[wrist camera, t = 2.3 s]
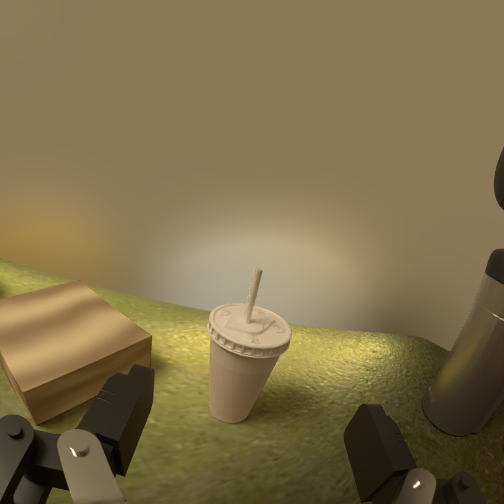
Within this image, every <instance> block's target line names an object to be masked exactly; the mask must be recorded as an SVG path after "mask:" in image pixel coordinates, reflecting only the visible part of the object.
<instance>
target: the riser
mask: <svg viewBox="0 0 504 504" xmlns="http://www.w3.org/2000/svg"><path fill="white" fill-rule="evenodd" d="M151 346H152V335H151V334H149V333H148V332H146V331H145V330H144V329H142V328H141V327H139V326H138V325H137V324H135V323H134V322H132V321H131V320H130V319H128V318H127V317H126V316H124V315H123V314H121V313H120V312H119V311H117V310H116V309H115V308H114V307H112V306H111V305H110V304H108V303H107V302H106V301H104V300H103V299H102V298H101V297H99V296H98V295H97V294H96V293H94V292H93V291H92V290H91V289H89V288H88V287H87V286H86V285H85V284H83V283H82V282H81V281H80V280H78V281H73V282H69V283H65V284H61V285H57V286H53V287H49V288H45V289H40V290H36V291H32V292H28V293H24V294H20V295H16V296H12V297H8V298H4V299H0V364H1V366H2V368H3V370H4V372H5V374H6V376H7V378H8V380H9V381H10V383H11V385H12V387H13V389H14V391H15V392H16V394H17V396H18V398H19V399H20V401H21V403H22V404H23V406H24V408H25V409H26V411H27V412H28V414H29V415H30V417H31V419H32V420H33V422H34V423H35V425H38V424H40V423H42V422H44V421H47V420H49V419H51V418H53V417H55V416H57V415H59V414H61V413H63V412H65V411H67V410H69V409H71V408H73V407H75V406H77V405H79V404H81V403H83V402H85V401H87V400H89V399H91V398H93V397H95V396H97V395H98V393H99V392H100V390H102V387H103V385H104V384H105V382H106V381H107V379H108V378H110V377H111V376H113V375H115V374H116V373H118V372H119V373H122V374H125V375H128V373H129V371H130V370H131V368H132V366H133V365H134V364H138V365H141V366H144V367H148V368H149V367H151Z"/></svg>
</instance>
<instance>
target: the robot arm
mask: <svg viewBox="0 0 504 504" xmlns="http://www.w3.org/2000/svg"><path fill="white" fill-rule="evenodd" d="M494 192H495V196H496V200H497V202H498V204H499V205H500V207H501V208H502V209H503V210H504V148H503V150H502V153H501V155H500V158H499V160H498V163H497V167H496V171H495V177H494ZM153 393H154V369H151V368H148V367H144V366H141V365H138V364H134V365H133V366H132V368H131V370H130V371H129V373H128V375H125V374H122V373H119V372H118V373H116V374H115V375H113V376H111V377H110V378H108V379H107V381H106V382H105V384H104V385H103V387H102V390H100V392H99V393H98V395H97V398H95V399H94V401H93V403H92V404H91V406H90V407H89V409H88V411H87V412H86V414H85V415H84V417H83V419H82V420H81V422H80V424H79V425H78V426H77V428H75V429H72V430H68V431H66V432H64V433H63V434H52V433H47V432H43V431H38V430H34V429H33V427H32V425H31V424H30V422H29V421H28V420H27V419H25V418H24V417H21V416H19V415H7V416H4V417H2V418H1V419H0V504H45V503H46V501H47V498H48V496H49V494H50V491H51V489H52V487H54V488H58V489H63V490H68V491H70V493H71V496H72V499H73V502H74V504H128V503H127V501H126V500H125V499H124V497H123V495H122V493H121V491H120V489H119V487H118V485H117V483H116V480H115V476H116V474H118V475H121V476H124V477H125V475H126V472H127V470H128V467H129V465H130V462H131V459H132V457H133V454H134V451H135V449H136V446H137V444H138V441H139V439H140V436H141V433H142V431H143V428H144V426H145V423H146V421H147V418H148V416H149V413H150V411H151V407H152V403H153ZM503 399H504V249H496V250H494V251H493V252H492V254H491V255H490V258H489V260H488V264H487V267H486V270H485V273H484V275H483V278H482V281H481V284H480V286H479V289H478V292H477V294H476V297H475V299H474V302H473V304H472V307H471V309H470V311H469V314H468V316H467V318H466V320H465V322H464V325H463V327H462V329H461V331H460V333H459V335H458V337H457V339H456V341H455V343H454V345H453V347H452V349H451V351H450V353H449V355H448V357H447V358H446V360H445V362H444V364H443V366H442V367H441V369H440V371H439V373H438V374H437V376H436V378H435V379H434V381H433V382H432V384H431V385H430V387H429V389H428V391H427V392H426V394H425V396H424V397H423V400H422V407H423V410H424V413H425V414H426V416H427V418H428V419H429V420H430V421H431V422H432V423H433V424H434V425H435V426H436V427H437V428H439V429H440V430H442V431H444V432H446V433H448V434H451V435H455V436H464V435H468V434H470V433H479V432H480V430H481V429H482V428H483V427H484V425H485V424H486V423H487V421H488V420H489V419H490V417H491V416H492V415H493V413H494V412H495V411H496V409H497V408H498V406H499V405H500V404H501V402H502V401H503ZM344 443H345V446H346V450H347V453H348V457H349V460H350V464H351V467H352V471H353V475H354V478H355V482H356V485H357V489H358V493H359V497H360V500H361V503H362V502H369V501H372V502H373V504H486V502H485V500H484V498H483V495H482V493H481V491H480V489H479V487H478V485H477V483H476V481H475V479H474V478H473V476H472V475H470V474H469V473H466V472H458V473H456V474H455V475H454V476H453V477H452V478H451V479H450V480H443V479H435V478H434V476H433V475H432V474H431V473H430V472H429V471H427V470H425V469H422V468H417V466H416V463H415V461H414V459H413V457H412V455H411V453H410V451H409V448H408V446H407V444H406V442H404V438H403V436H402V435H401V432H400V430H399V428H398V426H397V424H396V423H395V422H394V421H393V420H392V419H391V418H390V417H389V416H386V414H385V412H384V410H383V408H382V406H381V405H380V404H362V405H360V407H359V408H358V410H357V411H356V413H355V415H354V416H353V418H352V419H351V421H350V422H349V424H348V426H347V427H346V429H345V432H344Z"/></svg>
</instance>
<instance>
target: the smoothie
mask: <svg viewBox="0 0 504 504" xmlns="http://www.w3.org/2000/svg"><path fill="white" fill-rule="evenodd" d="M262 271H263V269H262V268H258V267H255V269H254V273H253V278H252V282H251V286H250V290H249V295H248V299H247V303H246V304H242V303H230V304H224V305H221V306H219V307H217V308H215V309H214V310H213V311H212V312H211V313H210V317H209V322H208V324H207V330H208V333H209V335H210V337H211V339H210V372H209V410H210V412H211V414H212V415H213V416H214V417H215V418H217V419H218V420H220V421H223V422H227V423H238V422H241V421H243V420H244V419H245V418H246V417H247V416H248V414H249V412H250V410H251V409H252V407H253V405H254V403H255V402H256V400H257V398H258V396H259V394H260V392H261V391H262V389H263V387H264V385H265V383H266V381H267V379H268V378H269V376H270V374H271V372H272V370H273V368H274V366H275V365H276V362H277V360H278V358H279V356H280V355H281V354H283V353H284V352H285V351H286V350H287V349H288V347H289V345H290V339H291V337H292V330H291V327H290V326H289V324H288V323H287V322H286V321H285V320H284V319H283V318H282V317H280V316H279V315H277V314H276V313H274V312H272V311H270V310H267V309H265V308H262V307H259V306H255V305H254V303H255V299H256V295H257V291H258V287H259V283H260V279H261V275H262Z"/></svg>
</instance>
